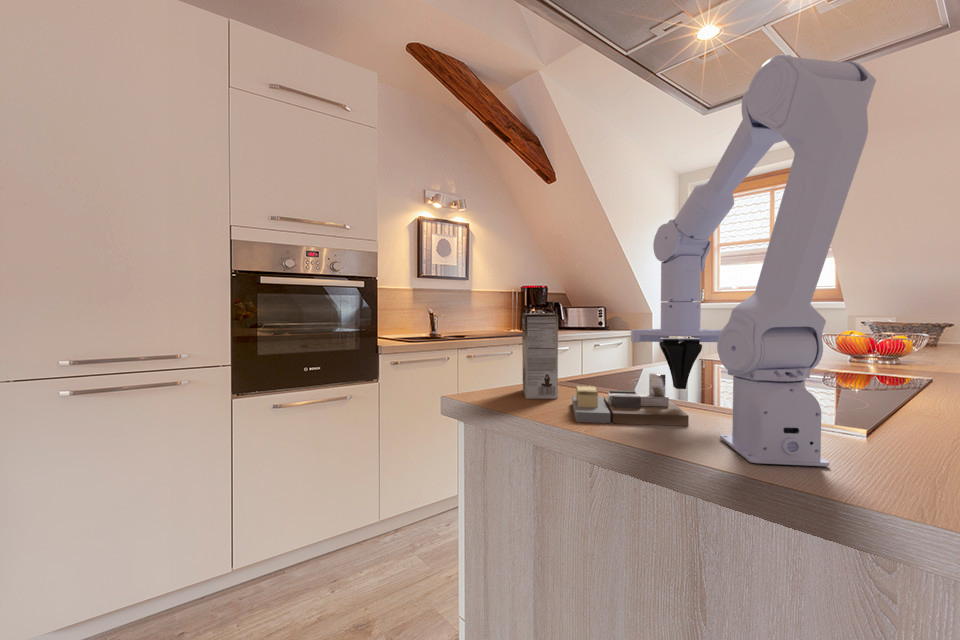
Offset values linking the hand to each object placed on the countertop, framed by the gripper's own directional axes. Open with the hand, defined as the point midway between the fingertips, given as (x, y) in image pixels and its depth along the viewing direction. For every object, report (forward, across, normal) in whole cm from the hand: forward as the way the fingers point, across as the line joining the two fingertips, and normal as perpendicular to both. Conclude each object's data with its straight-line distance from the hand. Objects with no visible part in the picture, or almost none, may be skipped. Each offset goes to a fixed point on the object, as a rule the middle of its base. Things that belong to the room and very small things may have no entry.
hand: (679, 387), depth 70 cm
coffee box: (+5, +22, -14) cm, 27 cm away
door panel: (+4, +6, 0) cm, 7 cm away
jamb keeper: (+4, +14, 0) cm, 15 cm away
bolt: (+3, +6, 0) cm, 7 cm away
